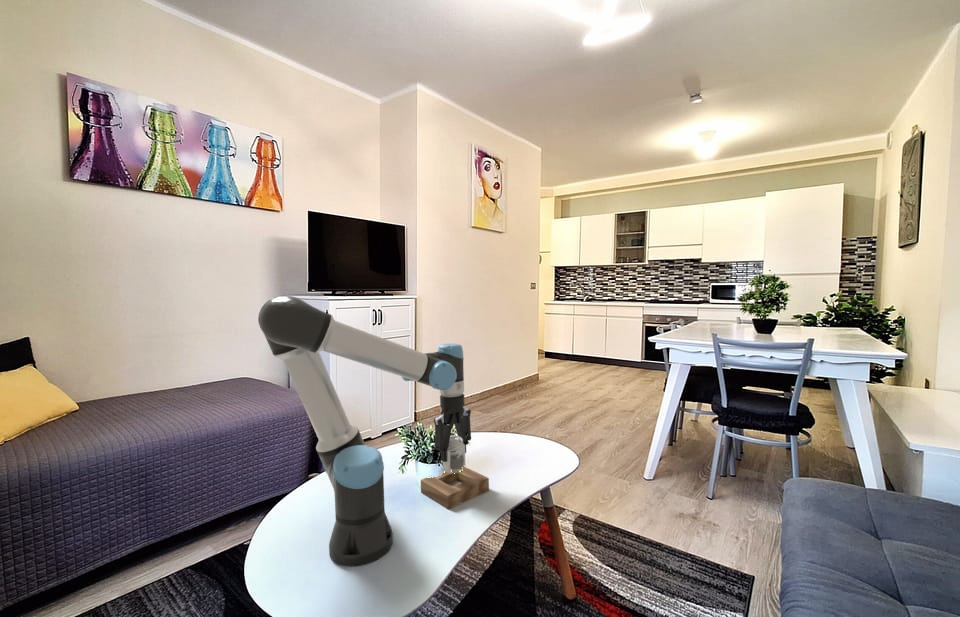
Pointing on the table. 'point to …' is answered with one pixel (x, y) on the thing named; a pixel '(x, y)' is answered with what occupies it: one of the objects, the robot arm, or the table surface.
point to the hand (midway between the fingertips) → (454, 467)
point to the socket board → (455, 487)
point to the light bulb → (456, 453)
